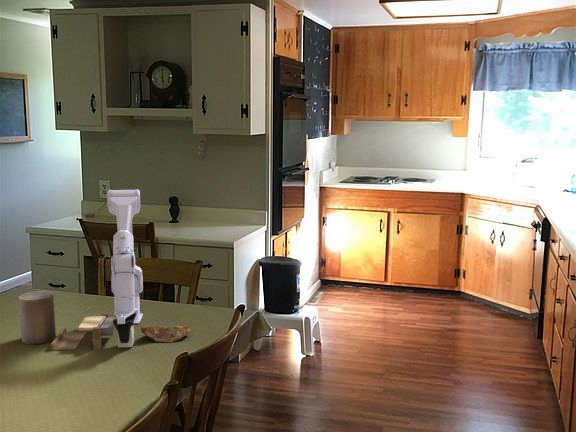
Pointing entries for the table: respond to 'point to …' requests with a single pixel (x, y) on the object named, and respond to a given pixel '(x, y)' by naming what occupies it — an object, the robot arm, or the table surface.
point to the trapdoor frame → (76, 338)
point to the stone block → (131, 339)
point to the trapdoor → (98, 324)
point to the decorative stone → (165, 333)
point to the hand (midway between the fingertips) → (125, 339)
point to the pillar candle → (37, 317)
